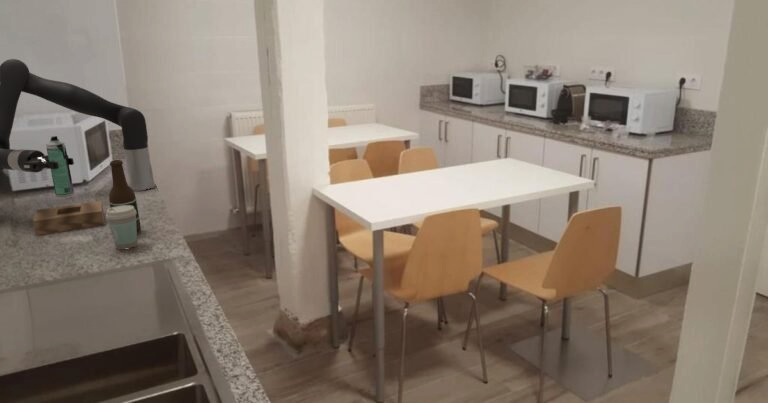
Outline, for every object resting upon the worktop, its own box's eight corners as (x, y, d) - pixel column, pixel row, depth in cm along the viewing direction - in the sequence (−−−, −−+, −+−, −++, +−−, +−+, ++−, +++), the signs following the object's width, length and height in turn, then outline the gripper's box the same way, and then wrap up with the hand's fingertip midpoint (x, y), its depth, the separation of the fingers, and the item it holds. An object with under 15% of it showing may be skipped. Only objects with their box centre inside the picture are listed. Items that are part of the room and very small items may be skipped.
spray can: (77, 192, 192) (67, 134, 186) (67, 197, 187) (56, 137, 181) (62, 192, 193) (51, 134, 187) (52, 197, 187) (40, 137, 181)
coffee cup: (117, 242, 175) (111, 205, 171) (145, 240, 175) (139, 203, 172) (107, 252, 167) (99, 214, 163) (136, 250, 167) (130, 212, 164)
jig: (103, 213, 203) (101, 200, 201) (104, 225, 191) (101, 211, 189) (40, 223, 195) (37, 209, 193) (36, 235, 183) (33, 221, 181)
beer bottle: (146, 229, 185) (134, 158, 178) (129, 238, 178) (116, 164, 171) (127, 227, 187) (115, 157, 180) (109, 236, 180) (96, 163, 173)
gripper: (4, 154, 183) (43, 157, 178) (43, 145, 196) (80, 148, 191) (9, 176, 186) (48, 180, 180) (47, 166, 199) (84, 169, 193)
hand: (64, 163), depth 186 cm, fingers closed on spray can, 5 cm apart
